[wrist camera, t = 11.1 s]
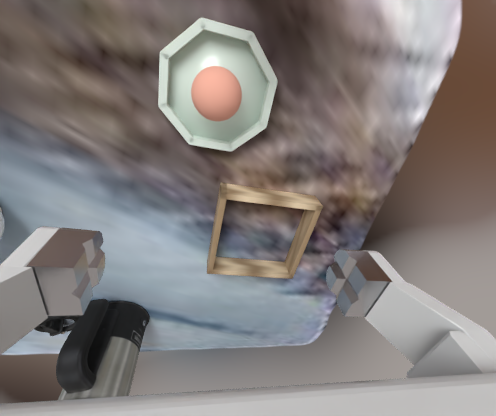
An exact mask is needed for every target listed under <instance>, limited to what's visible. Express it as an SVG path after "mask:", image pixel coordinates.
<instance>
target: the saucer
mask: <svg viewBox="0 0 496 416" xmlns="http://www.w3.org/2000/svg"><path fill="white" fill-rule="evenodd" d="M160 52H161V53H160V65H159V101H158V106H159V108H160V109H161V110H162V112H163V113H164V114H165V115H166V117H167V118H168V119H169V120H170V121H171V123H172V124H173V125H174V126H175V128H176V129H177V130H178V131H179V133H180V134H181V135H182V136H183V138H184V139H185V140H186V141H187V142H188V144H190V145H195V146H201V147H207V148H212V149H218V150H224V151H230V152H231V151H233V150H235V149H236V148H238V147H239V146H240V145H242V144H243V143H245V142H246V141H248V140H249V139H251V138H252V137H254V136H255V135H257V134H258V133H259V132H261V131H262V130H264V129H265V128H266V127H267V123H268V119H269V115H270V111H271V107H272V103H273V99H274V95H275V90H276V86H277V82H278V81H277V78H276V76H275V74H274V72H273V70H272V68H271V66H270V64H269V62H268V60H267V58H266V56H265V54H264V52H263V50H262V48H261V46H260V44H259V42H258V40H257V38H256V36H255V34H254V32H252V31H248V30H244V29H241V28H237V27H234V26H230V25H227V24H223V23H219V22H216V21H212V20H209V19H205V18H200V19H198V20H197V21H196V22H195V23H194V24H193V25H191V26H190V27H189V28H188V29H187V30H185V31H184V32H183V33H182V34H181V35H179V36H178V37H177V38H176V39H175V40H174V41H172V42H171V43H170V44H169V45H168V46H166V47H165V48H164V49H163V50H162V51H160ZM210 66H220V67H224V68H226V69H228V70H229V71H231V72H232V73H233V74H234V75H235V76H236V78H237V79H238V81H239V83H240V86H241V91H242V99H241V104H240V107H239V109H238V111H237V112H236V113H235V114H234V115H233V116H232V117H231V118H229V119H227V120H224V121H211V120H209V119H206V118H205V117H203V116H202V115H201V114H200V113H199V112H198V111H197V109H196V108H195V106H194V104H193V101H192V97H191V88H192V83H193V81H194V79H195V77H196V76H197V74H198V73H199V72H200V71H201V70H203V69H205V68H207V67H210Z"/></svg>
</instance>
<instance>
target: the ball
mask: <svg viewBox="0 0 496 416" xmlns="http://www.w3.org/2000/svg"><path fill="white" fill-rule="evenodd" d="M191 97H192V101H193V104H194V106H195V108H196V109H197V111H198V112H199V113H200V114H201V115H202V116H203V117H205V118H206V119H209V120H211V121H224V120H227V119H229V118H231V117H232V116H233V115H234V114H235V113H236V112H237V111H238V109H239V107H240V104H241V99H242V91H241V86H240V83H239V81H238V79H237V78H236V76H235V75H234V74H233V73H232V72H231V71H229V70H228V69H226V68H224V67H220V66H210V67H207V68H205V69H203V70H201V71H200V72H199V73H198V74H197V76H196V77H195V79H194V81H193V83H192V88H191Z"/></svg>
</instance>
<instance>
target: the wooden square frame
mask: <svg viewBox="0 0 496 416" xmlns="http://www.w3.org/2000/svg"><path fill="white" fill-rule="evenodd" d="M226 199H228V200H236V201H243V202H251V203H259V204H267V205H275V206H283V207H291V208H298V209H305V210H304V213H303V215H302V218H301V221H300V223H299V226H298V228H297V231H296V234H295V236H294V239H293V241H292V244H291V247H290V249H289V252H288V255H287V257H286V260H285V262H279V261H265V260H252V259H239V258H226V257H216V251H217V246H218V241H219V236H220V231H221V225H222V220H223V215H224V210H225V204H226ZM322 207H323V206H322V205H321V203H320V202H319V201H318V199H317V198H316V197H315V196H311V195H304V194H297V193H290V192H283V191H276V190H269V189H262V188H255V187H248V186H240V185H233V184H226V183H220V189H219V195H218V201H217V207H216V212H215V218H214V224H213V230H212V236H211V242H210V248H209V253H208V259H207V274H224V275H240V276H256V277H272V278H289V279H292V278H293V276H294V274H295V271H296V269H297V267H298V264H299V262H300V260H301V257H302V255H303V252H304V250H305V248H306V245H307V243H308V241H309V238H310V236H311V233H312V231H313V229H314V226H315V224H316V222H317V219H318V217H319V214H320V212H321V210H322Z"/></svg>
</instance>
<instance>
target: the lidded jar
mask: <svg viewBox="0 0 496 416" xmlns="http://www.w3.org/2000/svg"><path fill="white" fill-rule="evenodd" d="M3 232H4V217H3V215H2V209H1V207H0V240H1V238H2V235H3Z"/></svg>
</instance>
